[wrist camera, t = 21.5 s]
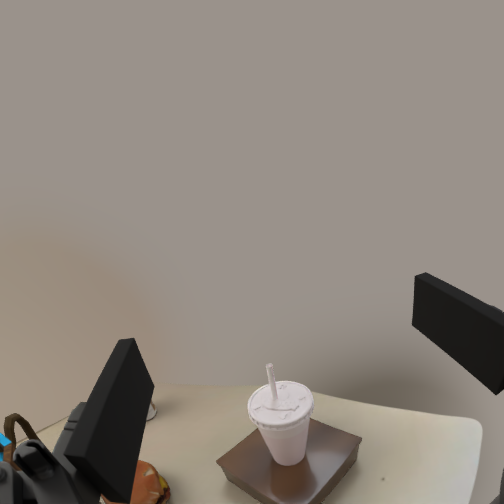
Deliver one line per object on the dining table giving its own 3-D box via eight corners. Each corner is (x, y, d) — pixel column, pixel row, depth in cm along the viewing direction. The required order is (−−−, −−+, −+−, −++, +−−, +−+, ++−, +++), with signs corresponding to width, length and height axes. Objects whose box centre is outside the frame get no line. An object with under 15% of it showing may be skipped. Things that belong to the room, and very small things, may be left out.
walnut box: (358, 458, 28) (362, 437, 27) (300, 527, 20) (297, 514, 19) (286, 427, 37) (282, 405, 36) (225, 479, 29) (215, 461, 27)
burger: (98, 491, 25) (81, 475, 23) (141, 461, 32) (128, 443, 31) (138, 534, 19) (120, 521, 18) (186, 495, 26) (174, 479, 25)
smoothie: (284, 427, 31) (269, 340, 28) (327, 445, 27) (324, 356, 24) (250, 459, 27) (222, 375, 24) (294, 483, 23) (280, 402, 19)
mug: (82, 572, 10) (-7, 519, 6) (11, 546, 8) (-66, 483, 4) (96, 470, 29) (43, 401, 25) (35, 463, 27) (-15, 398, 23)
